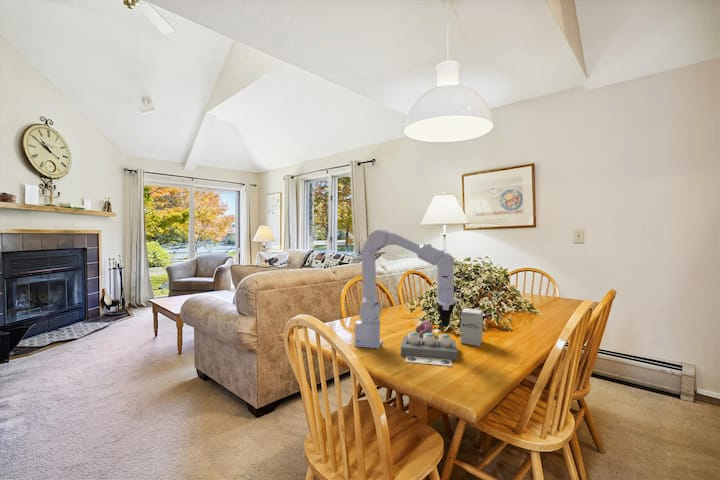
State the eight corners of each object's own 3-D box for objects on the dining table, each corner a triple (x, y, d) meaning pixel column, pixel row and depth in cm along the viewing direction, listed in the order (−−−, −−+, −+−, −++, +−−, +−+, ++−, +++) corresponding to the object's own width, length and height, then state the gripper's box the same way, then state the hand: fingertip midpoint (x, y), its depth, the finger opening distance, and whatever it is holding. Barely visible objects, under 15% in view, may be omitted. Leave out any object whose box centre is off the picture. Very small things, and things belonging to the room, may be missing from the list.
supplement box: (459, 343, 127) (460, 311, 127) (463, 338, 134) (463, 307, 134) (480, 346, 124) (480, 313, 124) (482, 341, 131) (483, 309, 130)
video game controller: (428, 342, 133) (436, 327, 133) (417, 337, 133) (425, 322, 133) (423, 335, 143) (431, 320, 143) (414, 330, 143) (421, 316, 143)
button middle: (423, 347, 117) (423, 335, 117) (423, 343, 121) (423, 332, 121) (434, 348, 116) (434, 336, 116) (434, 344, 120) (434, 333, 120)
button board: (400, 355, 115) (400, 347, 115) (404, 344, 127) (404, 336, 126) (457, 360, 111) (457, 351, 110) (455, 348, 122) (455, 340, 122)
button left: (407, 345, 118) (407, 334, 118) (408, 342, 122) (408, 331, 122) (418, 346, 117) (418, 335, 117) (419, 343, 121) (419, 331, 121)
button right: (439, 348, 116) (439, 336, 116) (438, 344, 120) (439, 333, 120) (450, 349, 115) (450, 337, 115) (450, 345, 119) (450, 334, 119)
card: (405, 362, 109) (405, 361, 109) (406, 356, 114) (406, 355, 114) (451, 366, 106) (451, 365, 106) (451, 360, 111) (451, 359, 111)
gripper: (458, 291, 109) (457, 332, 109) (456, 284, 123) (455, 321, 123) (436, 290, 110) (436, 331, 111) (436, 284, 124) (436, 319, 125)
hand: (444, 325), depth 117 cm, fingers closed
